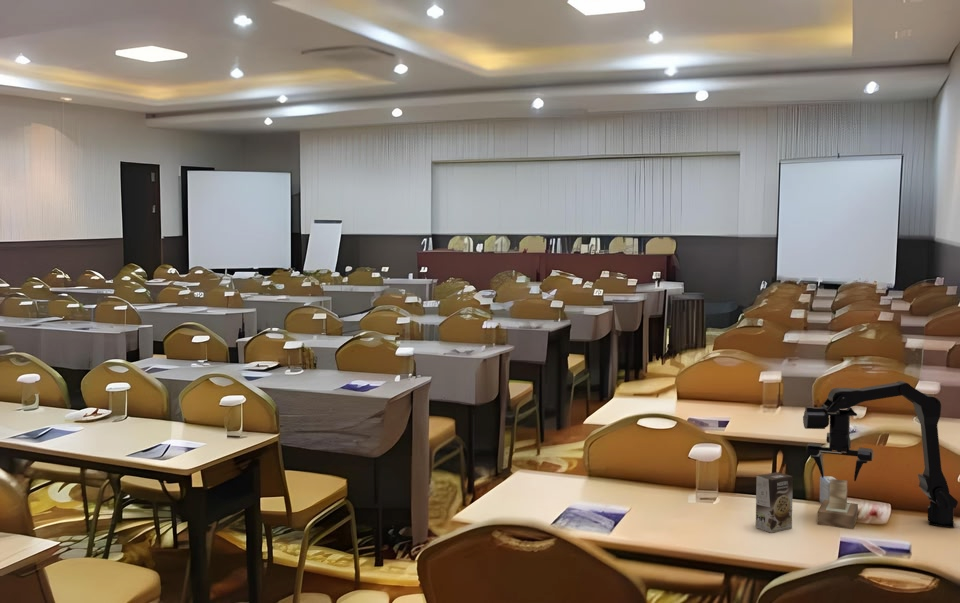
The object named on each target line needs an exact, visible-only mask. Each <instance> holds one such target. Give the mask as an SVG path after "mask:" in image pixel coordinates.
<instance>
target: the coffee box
mask: <svg viewBox="0 0 960 603" xmlns="http://www.w3.org/2000/svg"><path fill="white" fill-rule="evenodd" d="M793 477H794V476H793V475H789V474H785V473H781V472H776V471H775V472H771V473H764V474H759V475H756V485H755V486H756V490H755V528H758V530H759V529H760V530H762V531H764V532H766V533H767V532H768V533H770V534H773V533H776V532H782V531H786V530H792V528H793V486H794V485H793Z"/></svg>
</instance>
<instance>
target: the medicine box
mask: <svg viewBox="0 0 960 603" xmlns="http://www.w3.org/2000/svg"><path fill="white" fill-rule="evenodd" d="M831 479H836V480H838V479H837V478H835V477H834V476H831V475H830V476H825V475H824V478H822V476H820V477H819V502H820V503H821V504H822V502H823V500H830V481H831Z"/></svg>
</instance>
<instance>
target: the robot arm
mask: <svg viewBox="0 0 960 603" xmlns="http://www.w3.org/2000/svg"><path fill="white" fill-rule="evenodd" d="M901 396H902V397H904V398H905V399H906V400H908V401H909V402H910V403H912V404H913V405H912V406H913V408H914V409H913V410H914V411H915V412H914V413H915V414H916V417H917V419H918V421H919V424H920V432H921V442H922V451H923V452H922V453H923V462H924V464H923V465H924V470H923V473H918V474H917V475H918V476H917V477H918V480H919V484H918V487H919V488H920V489H921V491H922V493H923V494H925V495H926V496H927V499H928V501H929V505H928V506H927V521H928V523H929V524H928V525H931V526H937V527H946V528H954V527H955V520H954V514H955V512H954V511H955V510H954V509H956V508H957V507H958V506H957V505H958V503H959V501H958V500H957V499H956V498H955V497H954V496H953V495H951V493H950V489H949V486H948V481H947V479H946V477H945V475H944V472H943V469H942V460H941V448H940V441H939V440H940V439H939V438H940V437H939V429H938V428H939V427H938V425H939V421H940V418H941V415H942V413H941V412H942V403H941V401H940V399H938V398H937V397H935V396H933V395H931V394H927V393H923V392H922V391H920V390H918V389H916V388H915V387H913V386H912V385H911V384H910V383H908V382H906V381H903V380H898V381H896V382H891V383H884V384H879V385H878V384H877V385H873V386H871V385H870V386H866V387H865V386H864V387H861V388H858V387H857V388H855V387H854V388H851V387H835V388H832V389H830V390H829V392H828V394H827V398H826V400H825V401H823V403H822V404H821V406H820V407H817V406H816V407H813V406H805V408H804V409H805V410H804V412H803V416H802V422H803V427H804V429H806V430H809V429H810V430H815V429H816V430H826V428H829V432H827V433H826V441H825V442H826V443H827V444H828V445H829V446H828V447H826V446H822V443H816V442H809V443H808V444H807V446H806V447H805V455H807V456H809V457H810V459H814V462H815V464H816V466H817V468H818V471H819V474H820V477H822V478H824V477H825V469H824V459H823V458H824V457H823V456H824V455H823V454H829V455H839V456H850V457H857V458H856V461H855V469H854V476H853V478H854V479H853V481H854V482H857V478H858V476H859V473H860V471H861V469H862V467H863V465H864V464H868V462H872V461H873V459H874V450H873V449H872V448H869V447H868V448H867V447H859V448H858V449H851V446H852V445H851V441H852V440H851V437H850V430H851V429H850V423H851V422H850V420H851V419H850V418H851V417H852V416H853V417H858V413H857V412H856V411H854V410H853V407H855V406H857V405H859V404H861V403H864V402H869V401H874V400H875V401H876V400H881V399H882V400H883V399H887V398H888V399H889V398H893V397H894V398H895V397H901Z"/></svg>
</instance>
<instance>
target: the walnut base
mask: <svg viewBox="0 0 960 603" xmlns="http://www.w3.org/2000/svg"><path fill="white" fill-rule="evenodd" d="M829 503H830V500H823V502H822V503H821V504H820V505H819V508H818V510H817V525H821V526H829V527H835V528H842V529H843V528H844V529H850V530H854V528H855V525H856V522H857V520H856V518H857V519H858V517H857V514H858V515H859V513H858V512H859V503H854V502H847V507H846V509H845V510H842V509H834V508H829Z"/></svg>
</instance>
